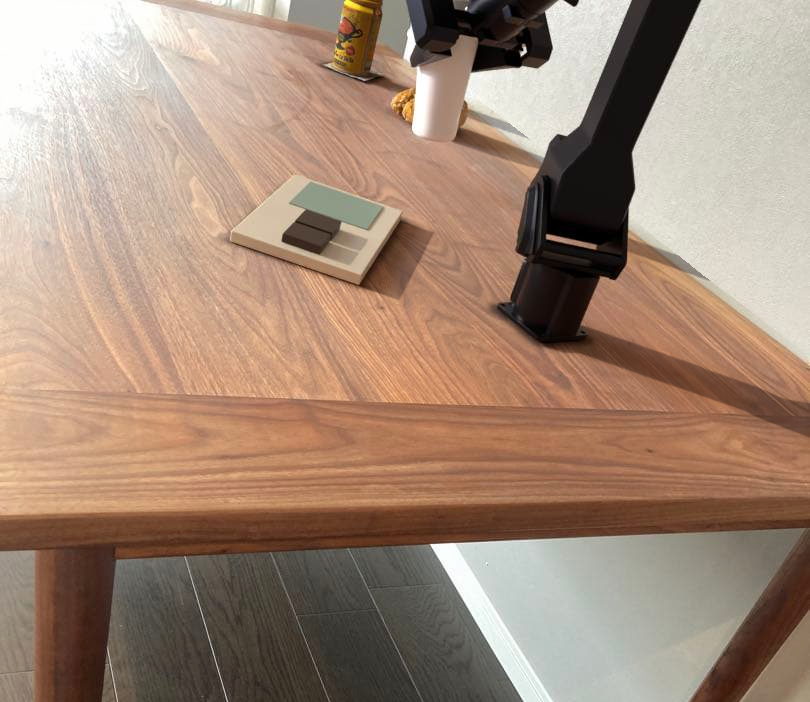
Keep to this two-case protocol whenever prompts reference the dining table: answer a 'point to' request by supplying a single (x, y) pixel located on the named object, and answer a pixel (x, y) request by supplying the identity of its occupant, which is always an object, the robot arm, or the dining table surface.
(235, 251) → the dining table surface
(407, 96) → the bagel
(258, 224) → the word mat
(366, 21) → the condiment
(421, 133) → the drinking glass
